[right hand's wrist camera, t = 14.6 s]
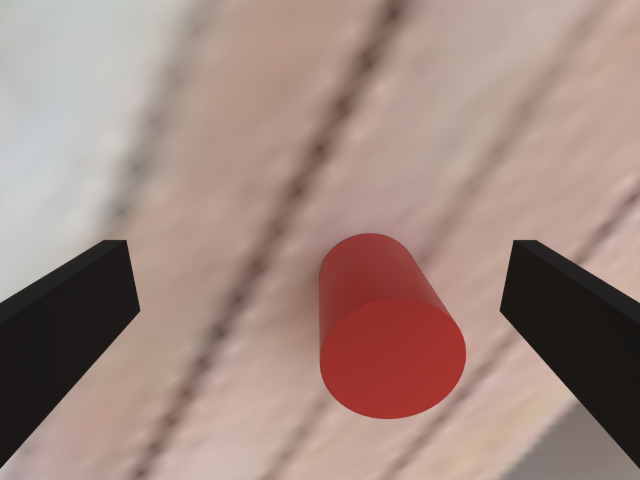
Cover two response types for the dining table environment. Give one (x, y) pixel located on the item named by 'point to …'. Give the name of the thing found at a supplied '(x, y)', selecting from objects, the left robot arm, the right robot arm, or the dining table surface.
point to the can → (384, 331)
